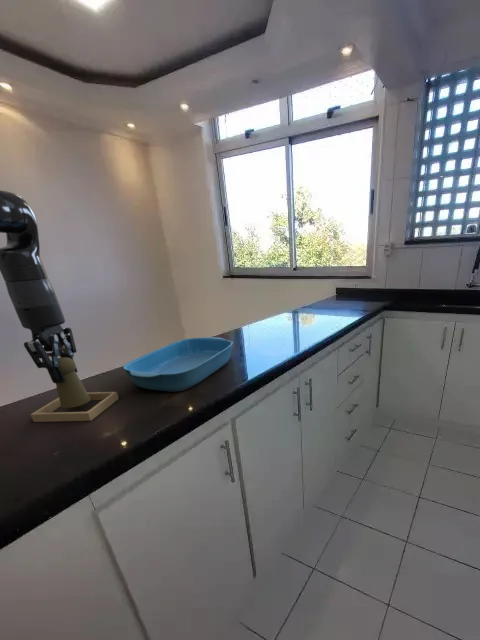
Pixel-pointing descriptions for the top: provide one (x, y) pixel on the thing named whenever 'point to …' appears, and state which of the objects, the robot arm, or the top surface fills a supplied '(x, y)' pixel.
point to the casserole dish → (179, 364)
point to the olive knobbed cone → (70, 385)
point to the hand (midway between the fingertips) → (66, 377)
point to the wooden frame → (48, 415)
